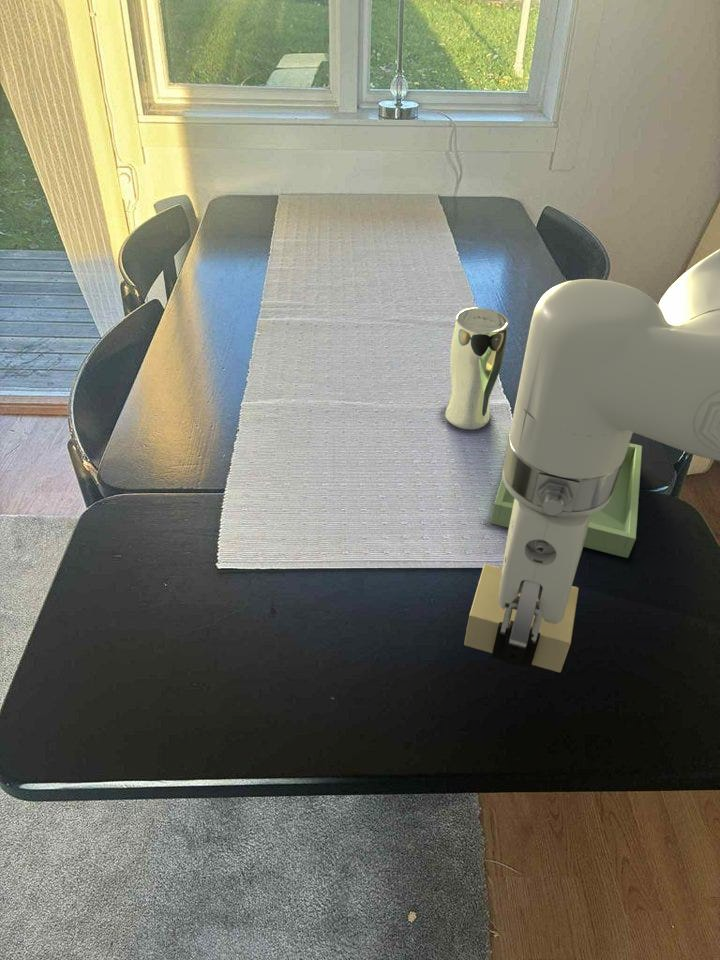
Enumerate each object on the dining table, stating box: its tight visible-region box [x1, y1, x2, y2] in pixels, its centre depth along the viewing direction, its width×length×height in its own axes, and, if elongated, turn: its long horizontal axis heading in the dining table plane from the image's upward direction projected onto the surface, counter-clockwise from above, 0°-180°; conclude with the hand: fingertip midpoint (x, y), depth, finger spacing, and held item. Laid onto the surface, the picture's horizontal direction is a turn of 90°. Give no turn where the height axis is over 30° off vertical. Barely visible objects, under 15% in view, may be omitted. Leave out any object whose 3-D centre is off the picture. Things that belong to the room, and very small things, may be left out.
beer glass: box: [444, 307, 510, 430], centre depth 93 cm, size 7×7×15 cm
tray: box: [490, 442, 643, 559], centre depth 85 cm, size 16×18×3 cm
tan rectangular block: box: [463, 563, 579, 673], centre depth 58 cm, size 8×6×4 cm
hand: (518, 626), depth 59 cm, fingers closed on tan rectangular block, 6 cm apart
